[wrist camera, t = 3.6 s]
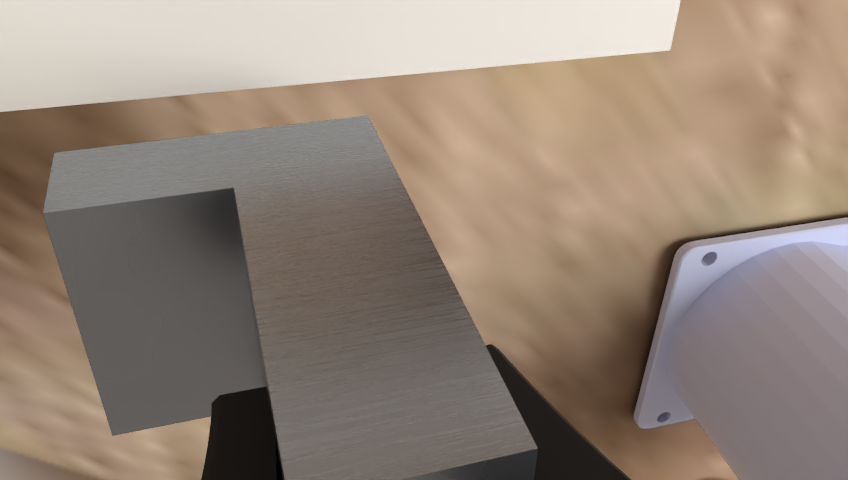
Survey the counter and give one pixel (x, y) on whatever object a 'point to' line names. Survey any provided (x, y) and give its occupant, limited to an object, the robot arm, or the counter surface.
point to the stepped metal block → (281, 301)
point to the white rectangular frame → (294, 42)
